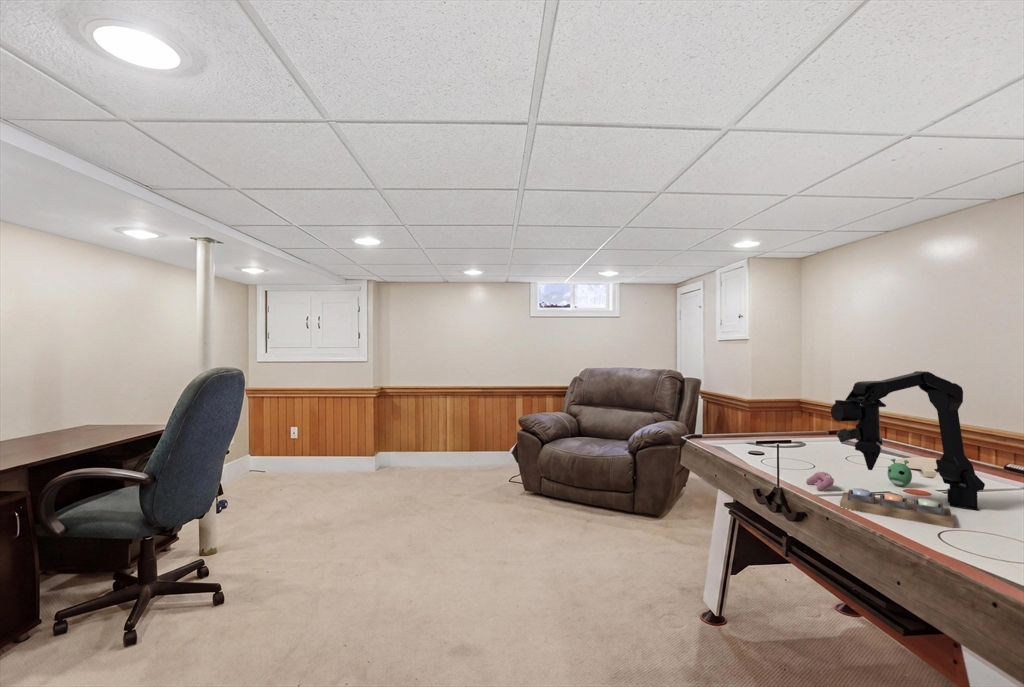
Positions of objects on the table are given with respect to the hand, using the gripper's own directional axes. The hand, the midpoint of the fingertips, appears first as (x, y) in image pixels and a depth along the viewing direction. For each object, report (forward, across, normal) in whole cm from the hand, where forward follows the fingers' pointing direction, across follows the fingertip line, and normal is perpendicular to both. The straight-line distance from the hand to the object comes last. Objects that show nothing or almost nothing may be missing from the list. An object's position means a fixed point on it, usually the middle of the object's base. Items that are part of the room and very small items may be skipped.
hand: (870, 469), depth 150 cm
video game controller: (+12, -14, -15) cm, 24 cm away
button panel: (+12, +2, +6) cm, 13 cm away
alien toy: (+12, -36, +7) cm, 39 cm away
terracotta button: (+10, +2, +6) cm, 11 cm away
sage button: (+10, +2, +14) cm, 17 cm away
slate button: (+9, +2, -2) cm, 10 cm away
